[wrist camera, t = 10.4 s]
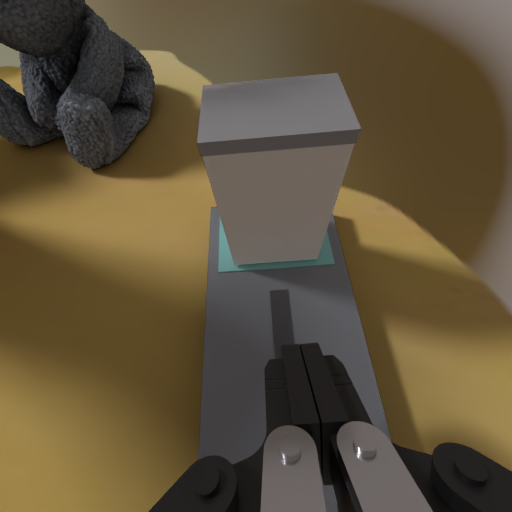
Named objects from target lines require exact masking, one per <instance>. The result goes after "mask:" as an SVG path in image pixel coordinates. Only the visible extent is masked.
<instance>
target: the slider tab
mask: <svg viewBox="0 0 512 512" xmlns="http://www.w3.org/2000/svg"><path fill="white" fill-rule="evenodd" d="M360 131H361V128H360V125H359V123H358V120H357V118H356V116H355V113H354V111H353V109H352V107H351V104H350V102H349V99H348V97H347V95H346V92H345V90H344V88H343V85H342V83H341V81H340V78H339V76H338V74H337V73H333V74H322V75H311V76H300V77H290V78H279V79H268V80H257V81H247V82H236V83H225V84H214V85H203V90H202V99H201V109H200V118H199V127H198V137H197V145H198V149H199V152H200V155H201V157H203V160H204V163H205V167H206V170H207V174H208V177H209V181H210V184H211V187H212V191H213V194H214V198H215V201H216V204H217V208H218V211H219V215H220V218H221V221H222V225H223V228H224V232H225V235H226V238H227V242H228V245H229V249H230V252H231V256H232V259H233V262H234V265H243V264H257V263H271V262H285V261H298V260H312V259H318V256H319V253H320V250H321V246H322V243H323V240H324V237H325V234H326V231H327V228H328V225H329V221H330V218H331V215H332V212H333V209H334V206H335V203H336V200H337V196H338V193H339V190H340V187H341V184H342V181H343V178H344V175H345V172H346V168H347V165H348V162H349V159H350V156H351V153H352V149H353V147H354V144H355V143H357V140H358V137H359V133H360Z"/></svg>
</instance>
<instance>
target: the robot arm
mask: <svg viewBox="0 0 512 512" xmlns="http://www.w3.org/2000/svg"><path fill="white" fill-rule="evenodd" d="M281 357H282V359H269V361H268V363H267V365H266V367H265V369H264V374H265V401H266V437H265V440H264V442H263V444H262V446H261V447H260V448H259V449H258V450H257V451H256V452H255V453H254V454H253V455H252V456H250V457H248V458H246V459H244V460H242V461H239V462H237V463H235V464H231V463H230V462H229V461H228V460H227V459H225V458H224V457H221V456H217V455H211V456H206V457H204V458H201V459H199V460H198V461H196V462H195V463H194V464H193V465H191V466H190V467H189V468H188V470H187V471H186V472H185V473H184V474H183V475H182V476H181V477H180V478H179V479H178V480H177V481H176V483H175V484H174V485H173V486H172V487H171V488H170V489H169V490H168V491H167V492H166V493H165V494H164V496H163V497H162V498H161V499H160V500H159V501H158V502H157V503H156V504H155V505H154V506H153V507H152V509H151V510H150V511H149V512H326V507H325V500H324V494H323V487H322V481H321V476H322V480H323V485H333V488H334V492H335V496H336V500H337V512H512V472H511V471H510V470H508V469H506V468H504V467H503V466H501V465H499V464H498V463H496V462H494V461H492V460H491V459H489V458H487V457H486V456H484V455H482V454H481V453H479V452H477V451H475V450H473V449H471V448H469V447H467V446H464V445H461V444H457V443H443V444H440V445H438V446H437V447H436V448H435V449H434V452H433V455H430V454H426V453H422V452H418V451H414V450H410V449H406V448H403V447H401V446H398V445H396V444H394V443H392V442H391V441H390V440H389V439H388V437H387V436H386V435H385V434H384V433H383V432H382V431H381V430H379V429H378V428H376V427H375V426H374V425H373V423H372V422H371V420H370V418H369V415H368V413H367V411H366V409H365V407H364V405H363V403H362V401H361V399H360V397H359V395H358V393H357V391H356V389H355V387H354V385H353V383H352V381H351V379H350V377H349V376H348V373H347V371H346V369H345V367H344V365H343V363H342V362H341V361H340V360H339V359H337V358H336V357H335V356H334V355H323V354H322V351H321V348H320V346H319V344H318V343H304V344H300V345H299V344H291V345H281Z"/></svg>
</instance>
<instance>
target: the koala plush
mask: <svg viewBox="0 0 512 512" xmlns="http://www.w3.org/2000/svg"><path fill="white" fill-rule="evenodd" d="M0 43H3V44H4V45H6V46H8V47H10V48H12V49H14V50H16V51H19V52H20V53H19V55H20V57H19V59H20V62H21V65H20V68H21V72H22V74H21V75H22V78H21V80H22V84H23V92H24V95H25V96H24V95H22V94H21V93H19V92H17V91H16V90H15V89H14V88H12V87H11V86H10V85H9V84H7V83H6V82H5V81H3V80H2V79H0V135H1V136H2V137H3V138H5V139H6V140H8V141H9V142H13V143H18V144H20V145H24V144H26V145H29V146H36V145H40V144H42V143H46V142H48V141H51V140H53V139H56V138H58V137H60V136H63V135H64V138H65V140H66V145H67V146H68V147H67V149H68V151H69V153H70V154H71V156H72V157H73V158H74V159H76V162H78V163H79V164H80V165H83V166H84V167H86V166H87V167H88V168H91V169H93V168H94V169H96V167H97V168H100V165H105V164H106V165H107V164H111V163H112V161H114V160H115V159H116V158H118V157H119V156H121V155H122V154H123V152H125V150H126V149H127V148H128V146H129V145H130V143H131V141H133V139H134V138H135V136H136V135H137V133H138V131H139V130H141V129H143V127H144V126H146V125H147V124H148V120H149V118H150V116H149V115H150V113H151V110H150V106H151V105H152V103H153V97H154V87H155V82H154V80H153V79H154V76H153V74H152V69H151V66H150V65H149V63H148V62H147V61H146V58H144V56H143V55H142V54H141V53H140V52H139V50H136V48H135V47H133V46H132V45H131V44H130V43H128V42H127V41H125V40H124V39H123V38H121V37H120V36H118V35H117V34H116V33H114V32H112V31H111V30H109V28H108V26H107V25H106V23H105V22H104V20H103V18H101V17H99V16H98V15H96V13H95V12H94V11H93V10H92V9H91V8H90V7H89V6H88V5H87V4H85V0H0Z"/></svg>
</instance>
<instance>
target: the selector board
mask: <svg viewBox="0 0 512 512" xmlns="http://www.w3.org/2000/svg"><path fill="white" fill-rule="evenodd" d="M304 343H318V344H319V346H320V348H321V351H322V354H323V355H334V356H335V357H336V358H337V359H339V360H340V361H341V362H342V363H343V365H344V367H345V369H346V371H347V373H348V376H349V377H350V379H351V381H352V383H353V385H354V387H355V389H356V391H357V393H358V395H359V397H360V399H361V401H362V403H363V405H364V407H365V409H366V411H367V413H368V415H369V418H370V420H371V422H372V423H373V425H374V426H375V427H376V428H378V429H379V430H381V431H382V432H383V433H384V434H385V435H386V436H387V437H388V439H389V440H390V441H391V442H392V440H391V436H390V432H389V428H388V425H387V421H386V417H385V413H384V409H383V405H382V401H381V398H380V394H379V390H378V386H377V382H376V378H375V375H374V371H373V367H372V363H371V359H370V355H369V352H368V348H367V344H366V340H365V336H364V332H363V328H362V325H361V321H360V317H359V313H358V309H357V305H356V302H355V298H354V294H353V290H352V286H351V282H350V279H349V275H348V271H347V267H346V263H345V259H344V255H343V252H342V248H341V244H340V240H339V236H338V232H337V229H336V225H335V221H334V217H333V213H332V215H331V218H330V221H329V225H328V228H327V231H326V234H325V237H324V240H323V243H322V246H321V250H320V253H319V256H318V259H312V260H298V261H285V262H271V263H257V264H243V265H234V262H233V259H232V256H231V252H230V249H229V245H228V242H227V238H226V235H225V232H224V228H223V225H222V221H221V218H220V215H219V211H218V208H217V207H211V218H210V238H209V257H208V277H207V296H206V316H205V335H204V355H203V374H202V394H201V413H200V433H199V452H198V460H199V459H201V458H204V457H206V456H211V455H217V456H221V457H224V458H225V459H227V460H228V461H229V462H230V463H231V464H235V463H237V462H239V461H242V460H244V459H246V458H248V457H250V456H252V455H253V454H254V453H255V452H256V451H257V450H258V449H259V448H260V447H261V446H262V444H263V442H264V440H265V437H266V401H265V374H264V369H265V367H266V365H267V363H268V361H269V359H282V357H281V345H291V344H299V345H300V344H304ZM321 481H322V487H323V494H324V500H325V507H326V512H337V500H336V496H335V492H334V488H333V485H323V480H322V476H321Z"/></svg>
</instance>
